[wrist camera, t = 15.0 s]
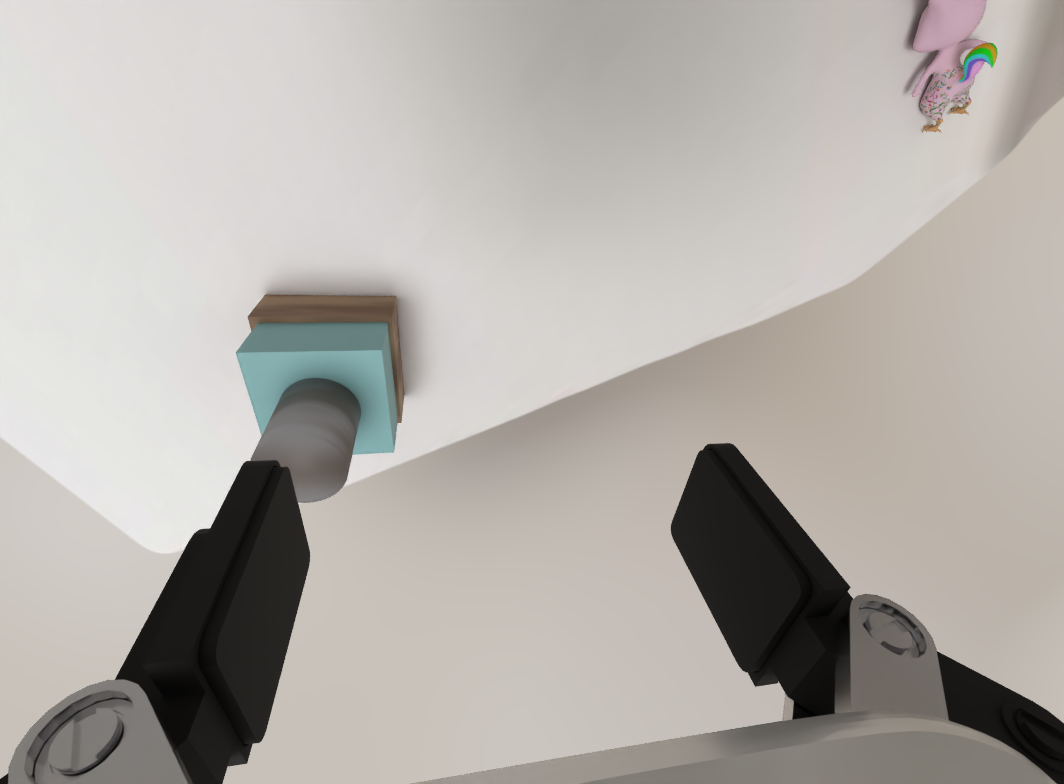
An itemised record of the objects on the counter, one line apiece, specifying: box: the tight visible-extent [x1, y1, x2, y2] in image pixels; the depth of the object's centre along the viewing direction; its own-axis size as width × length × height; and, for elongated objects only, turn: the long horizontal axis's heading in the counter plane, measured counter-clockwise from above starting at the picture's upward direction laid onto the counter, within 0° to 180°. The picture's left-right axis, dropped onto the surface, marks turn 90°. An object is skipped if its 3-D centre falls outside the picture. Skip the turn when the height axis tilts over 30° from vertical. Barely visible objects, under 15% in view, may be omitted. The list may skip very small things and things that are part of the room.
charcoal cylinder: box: [251, 378, 361, 503], centre depth 34 cm, size 6×6×7 cm
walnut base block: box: [248, 295, 404, 423], centre depth 43 cm, size 11×11×5 cm
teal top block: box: [236, 322, 398, 455], centre depth 39 cm, size 10×10×5 cm
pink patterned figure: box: [912, 0, 997, 133], centre depth 36 cm, size 6×6×15 cm
